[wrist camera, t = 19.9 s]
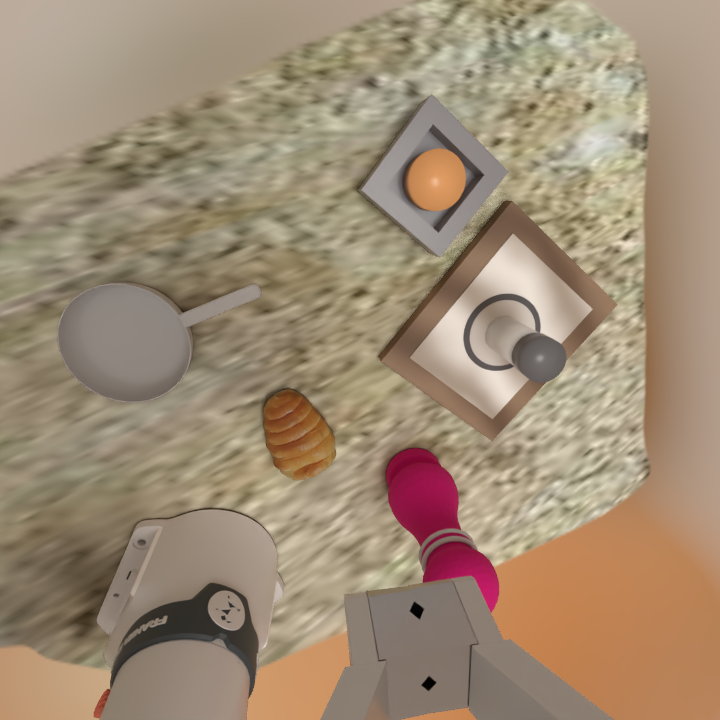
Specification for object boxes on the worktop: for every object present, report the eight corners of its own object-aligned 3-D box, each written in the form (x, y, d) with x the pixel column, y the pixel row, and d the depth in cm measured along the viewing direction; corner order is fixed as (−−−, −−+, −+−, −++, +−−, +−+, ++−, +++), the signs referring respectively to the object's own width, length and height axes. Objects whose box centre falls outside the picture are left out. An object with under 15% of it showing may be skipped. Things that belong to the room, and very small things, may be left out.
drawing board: (486, 434, 50) (493, 442, 48) (378, 356, 45) (381, 362, 43) (607, 301, 46) (620, 305, 44) (505, 201, 41) (514, 200, 39)
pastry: (247, 400, 45) (243, 417, 41) (309, 376, 45) (310, 391, 41) (284, 471, 48) (283, 493, 44) (341, 449, 48) (345, 469, 45)
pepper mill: (437, 498, 52) (515, 665, 33) (377, 497, 51) (424, 670, 32) (448, 444, 49) (538, 591, 31) (385, 442, 48) (440, 594, 30)
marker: (511, 356, 44) (554, 387, 37) (478, 346, 44) (515, 376, 36) (526, 321, 43) (574, 346, 36) (493, 310, 43) (534, 334, 35)
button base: (430, 253, 42) (439, 257, 39) (356, 190, 39) (361, 189, 36) (493, 173, 40) (508, 171, 37) (421, 102, 37) (431, 94, 34)
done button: (432, 221, 40) (439, 222, 37) (391, 186, 38) (397, 185, 36) (467, 177, 39) (477, 175, 36) (427, 138, 37) (435, 134, 35)
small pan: (51, 305, 39) (26, 315, 35) (236, 225, 39) (229, 228, 35) (119, 404, 43) (102, 422, 39) (287, 332, 43) (286, 344, 39)
